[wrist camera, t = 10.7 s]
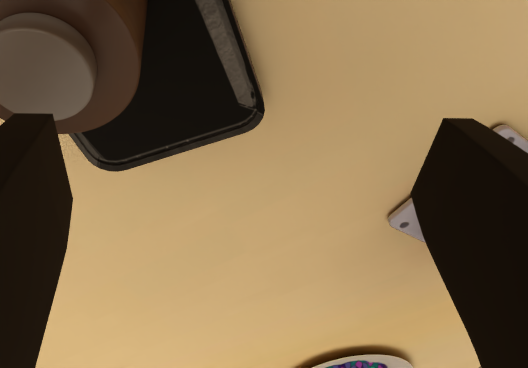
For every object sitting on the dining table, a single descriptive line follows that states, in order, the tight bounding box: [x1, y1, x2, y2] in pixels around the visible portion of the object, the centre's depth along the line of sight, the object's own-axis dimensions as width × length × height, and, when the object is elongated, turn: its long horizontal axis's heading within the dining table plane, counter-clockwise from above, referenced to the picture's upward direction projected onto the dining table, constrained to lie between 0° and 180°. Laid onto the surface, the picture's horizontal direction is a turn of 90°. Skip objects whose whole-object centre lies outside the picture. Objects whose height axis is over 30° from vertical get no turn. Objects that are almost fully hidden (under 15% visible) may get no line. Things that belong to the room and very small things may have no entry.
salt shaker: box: [0, 0, 148, 134], centre depth 13 cm, size 4×4×7 cm
